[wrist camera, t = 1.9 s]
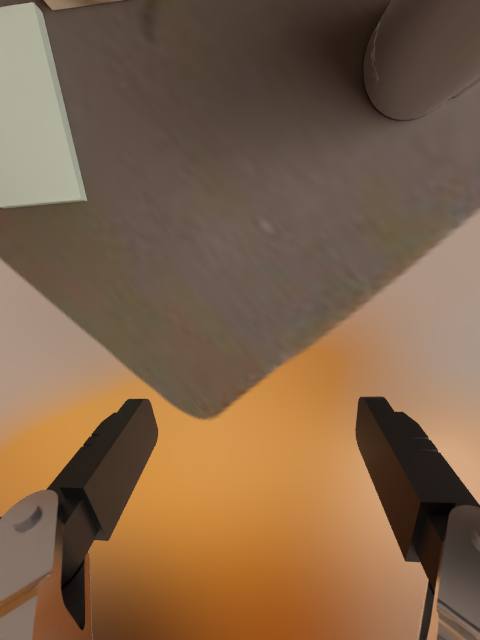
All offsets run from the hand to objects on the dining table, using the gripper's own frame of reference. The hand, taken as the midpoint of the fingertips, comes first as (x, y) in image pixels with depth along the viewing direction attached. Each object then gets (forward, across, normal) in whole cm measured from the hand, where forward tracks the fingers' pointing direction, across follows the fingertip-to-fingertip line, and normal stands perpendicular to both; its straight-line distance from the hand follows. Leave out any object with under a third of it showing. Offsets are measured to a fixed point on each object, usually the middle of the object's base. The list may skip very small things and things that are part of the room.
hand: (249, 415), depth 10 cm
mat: (+22, +24, -19) cm, 37 cm away
